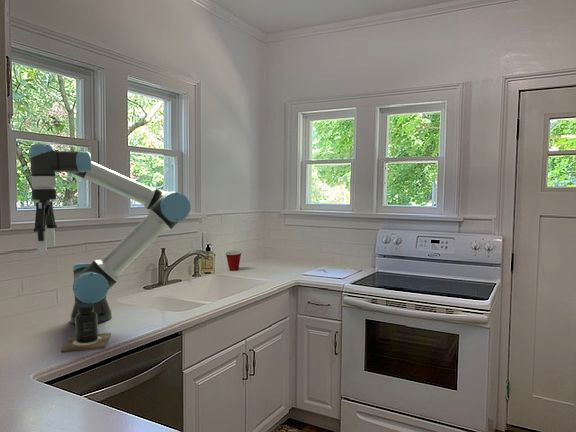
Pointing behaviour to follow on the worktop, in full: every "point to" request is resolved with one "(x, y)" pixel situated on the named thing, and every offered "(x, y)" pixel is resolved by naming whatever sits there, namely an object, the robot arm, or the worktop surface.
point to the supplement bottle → (86, 324)
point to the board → (97, 344)
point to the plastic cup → (233, 259)
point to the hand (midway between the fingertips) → (46, 248)
